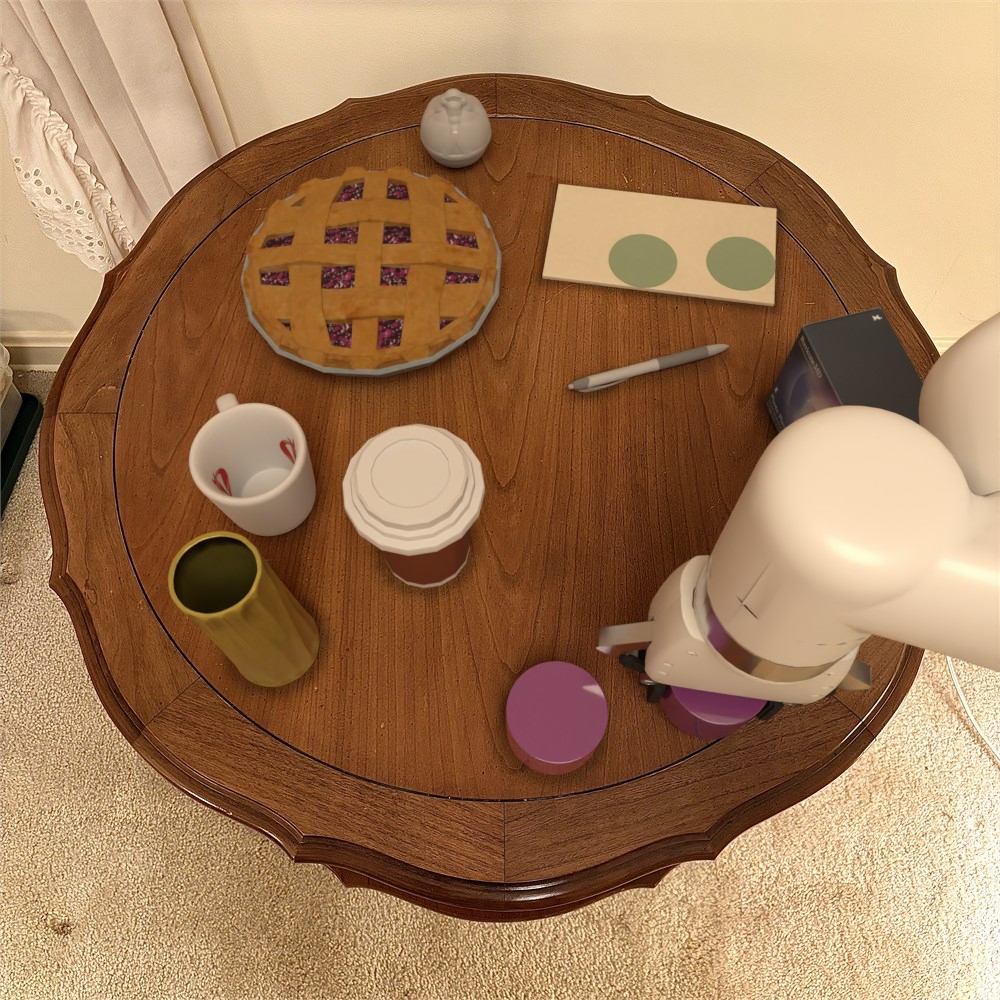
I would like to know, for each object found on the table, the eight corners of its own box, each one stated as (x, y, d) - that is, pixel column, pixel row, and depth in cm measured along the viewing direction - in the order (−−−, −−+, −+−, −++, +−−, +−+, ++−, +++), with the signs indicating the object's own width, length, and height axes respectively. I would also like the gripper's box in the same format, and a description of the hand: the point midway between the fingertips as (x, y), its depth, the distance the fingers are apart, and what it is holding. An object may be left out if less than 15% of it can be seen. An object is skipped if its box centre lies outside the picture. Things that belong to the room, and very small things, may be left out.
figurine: (490, 128, 82) (488, 53, 75) (493, 181, 79) (492, 108, 72) (422, 131, 82) (414, 56, 75) (423, 184, 79) (415, 111, 72)
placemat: (775, 211, 77) (777, 207, 77) (773, 306, 72) (774, 303, 72) (558, 186, 79) (558, 182, 78) (542, 278, 74) (542, 274, 73)
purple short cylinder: (605, 686, 58) (613, 668, 54) (595, 782, 55) (602, 771, 51) (513, 672, 59) (514, 653, 54) (498, 766, 56) (498, 754, 52)
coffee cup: (371, 490, 65) (345, 407, 54) (490, 493, 65) (487, 410, 54) (359, 603, 61) (328, 538, 50) (485, 607, 61) (481, 542, 50)
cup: (197, 453, 66) (159, 398, 59) (292, 413, 68) (266, 355, 61) (244, 567, 62) (209, 523, 55) (343, 522, 64) (323, 472, 57)
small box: (757, 402, 68) (797, 321, 59) (831, 385, 69) (883, 302, 59) (810, 518, 64) (862, 450, 54) (889, 498, 64) (955, 427, 55)
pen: (565, 388, 69) (566, 378, 68) (723, 347, 71) (728, 337, 69) (569, 398, 68) (570, 388, 67) (728, 357, 70) (732, 346, 69)
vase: (338, 645, 60) (291, 573, 47) (268, 706, 58) (201, 649, 45) (284, 587, 62) (226, 502, 49) (216, 644, 60) (136, 572, 47)
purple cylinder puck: (755, 651, 57) (773, 630, 53) (752, 746, 55) (771, 732, 50) (660, 637, 58) (671, 615, 54) (653, 731, 55) (663, 716, 51)
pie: (487, 186, 79) (486, 142, 74) (517, 382, 69) (518, 345, 65) (251, 208, 78) (235, 165, 73) (249, 410, 68) (230, 374, 64)
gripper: (964, 551, 41) (840, 653, 57) (604, 504, 42) (583, 616, 58) (977, 706, 37) (841, 767, 53) (587, 649, 39) (569, 725, 55)
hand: (707, 688), depth 56 cm, fingers closed on purple cylinder puck, 6 cm apart
